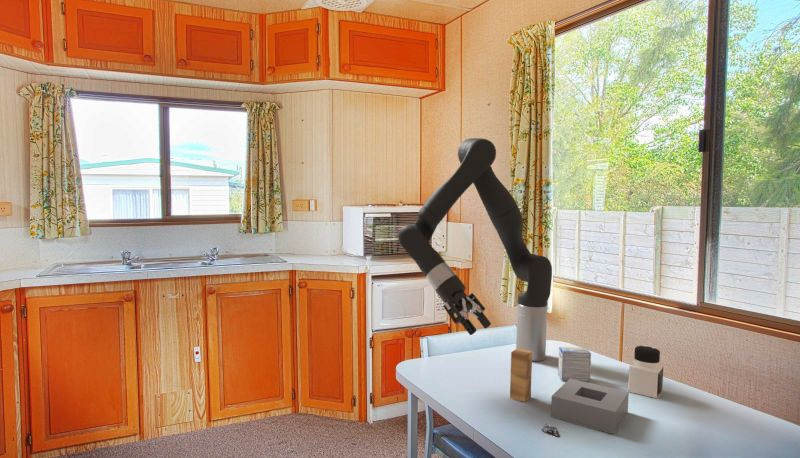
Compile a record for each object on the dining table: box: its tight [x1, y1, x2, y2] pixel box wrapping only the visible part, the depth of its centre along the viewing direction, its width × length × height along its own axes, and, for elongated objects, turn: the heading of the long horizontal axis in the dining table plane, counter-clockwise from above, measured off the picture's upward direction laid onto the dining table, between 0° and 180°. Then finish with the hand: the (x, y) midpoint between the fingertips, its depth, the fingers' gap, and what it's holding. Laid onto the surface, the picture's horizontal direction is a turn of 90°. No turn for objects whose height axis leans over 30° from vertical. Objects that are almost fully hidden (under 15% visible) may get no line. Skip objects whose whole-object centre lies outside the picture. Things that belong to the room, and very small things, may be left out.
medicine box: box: [557, 346, 592, 383], centre depth 139 cm, size 8×4×9 cm, turn 84°
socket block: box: [550, 379, 630, 435], centre depth 116 cm, size 14×14×5 cm
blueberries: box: [540, 423, 565, 438], centre depth 107 cm, size 7×8×2 cm
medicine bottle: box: [627, 344, 664, 399], centre depth 130 cm, size 7×7×12 cm
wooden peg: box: [509, 348, 533, 403], centre depth 125 cm, size 4×4×12 cm
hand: (481, 329), depth 131 cm, fingers open, 8 cm apart
